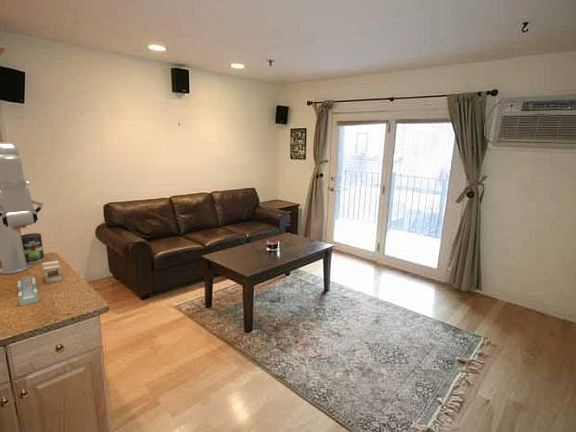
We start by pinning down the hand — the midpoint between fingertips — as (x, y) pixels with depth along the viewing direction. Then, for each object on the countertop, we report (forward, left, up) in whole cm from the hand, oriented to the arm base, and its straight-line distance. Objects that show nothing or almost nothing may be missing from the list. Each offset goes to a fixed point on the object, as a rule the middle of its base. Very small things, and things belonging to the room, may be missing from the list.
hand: (21, 224), depth 143 cm
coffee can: (-40, +2, -30) cm, 50 cm away
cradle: (+9, -2, -30) cm, 31 cm away
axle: (+6, -2, -28) cm, 29 cm away
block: (-5, +8, -30) cm, 32 cm away
